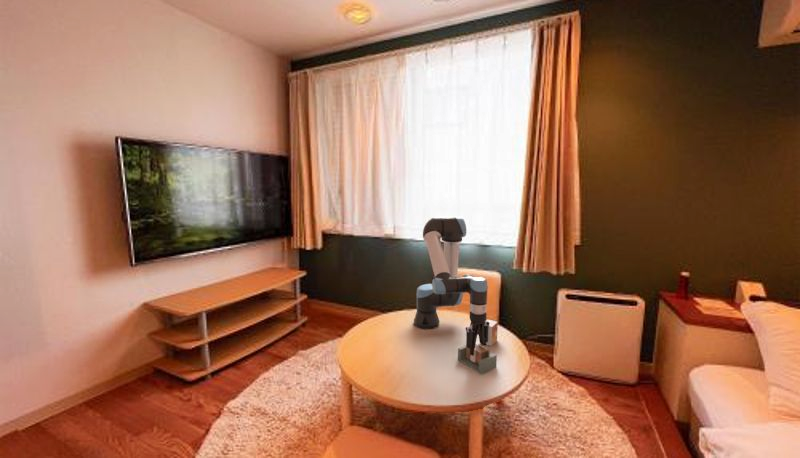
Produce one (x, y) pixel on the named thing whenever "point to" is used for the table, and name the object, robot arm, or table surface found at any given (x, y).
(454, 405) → the table surface
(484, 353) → the rail end
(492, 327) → the small box
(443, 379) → the table surface
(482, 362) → the bracket
